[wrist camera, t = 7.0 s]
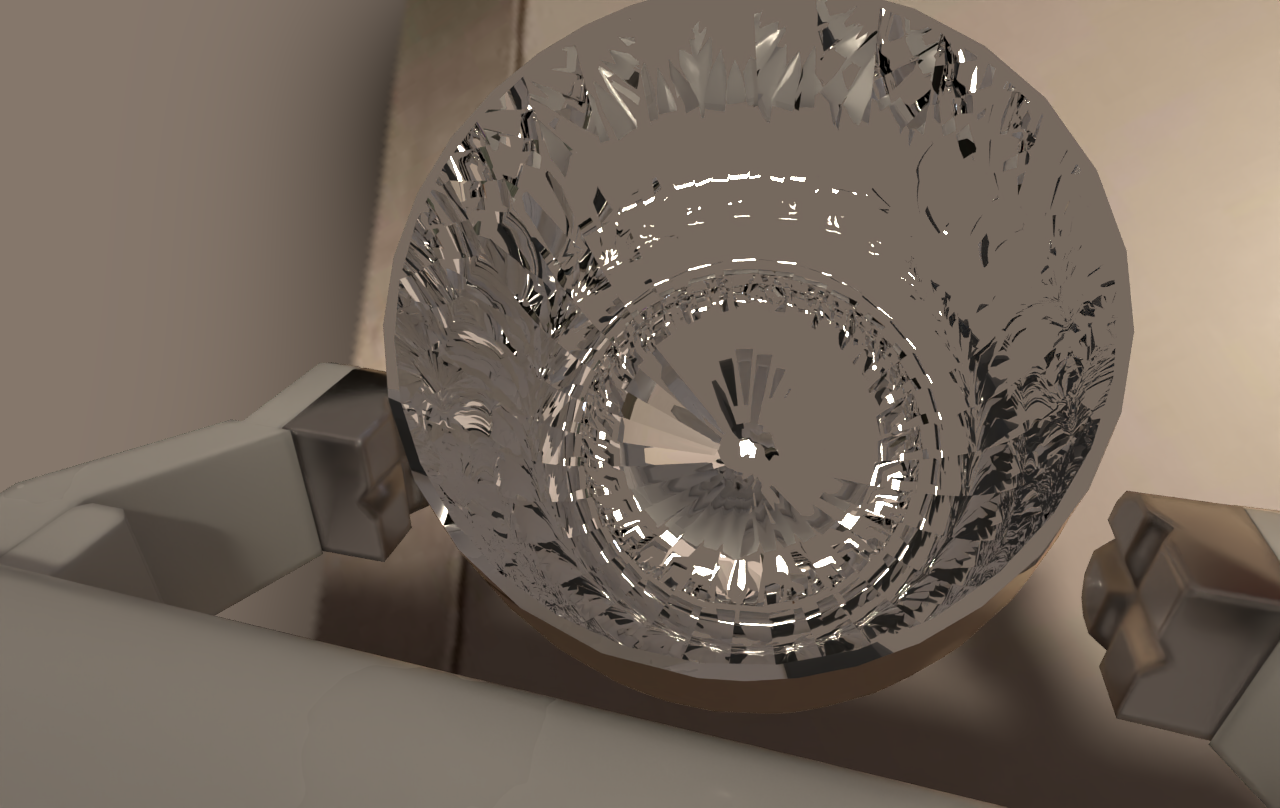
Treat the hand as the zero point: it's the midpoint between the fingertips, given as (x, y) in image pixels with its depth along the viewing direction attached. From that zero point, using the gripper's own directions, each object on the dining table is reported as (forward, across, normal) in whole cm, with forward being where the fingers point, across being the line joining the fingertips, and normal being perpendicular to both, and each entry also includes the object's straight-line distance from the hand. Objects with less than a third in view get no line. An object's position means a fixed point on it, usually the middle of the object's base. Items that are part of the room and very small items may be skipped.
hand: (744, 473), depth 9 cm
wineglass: (+6, 0, +5) cm, 7 cm away
